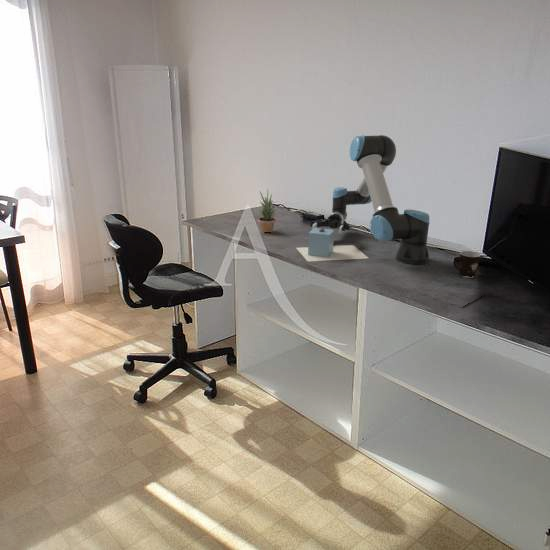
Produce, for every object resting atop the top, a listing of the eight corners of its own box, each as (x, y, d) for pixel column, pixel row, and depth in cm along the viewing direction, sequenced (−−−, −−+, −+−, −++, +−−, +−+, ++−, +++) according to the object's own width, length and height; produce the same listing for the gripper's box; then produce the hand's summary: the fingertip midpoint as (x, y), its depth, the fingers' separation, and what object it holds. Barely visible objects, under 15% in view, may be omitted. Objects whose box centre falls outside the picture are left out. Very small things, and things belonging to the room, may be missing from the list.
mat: (368, 259, 246) (368, 258, 245) (307, 262, 240) (307, 261, 239) (352, 245, 266) (352, 245, 266) (295, 248, 260) (295, 247, 260)
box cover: (332, 251, 255) (334, 227, 251) (328, 257, 246) (329, 232, 242) (313, 249, 258) (314, 225, 253) (307, 255, 249) (308, 230, 244)
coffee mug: (474, 273, 229) (478, 251, 225) (479, 279, 221) (483, 257, 217) (447, 271, 230) (450, 250, 226) (451, 278, 222) (454, 256, 218)
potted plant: (255, 232, 288) (255, 187, 279) (263, 228, 296) (263, 185, 287) (271, 234, 283) (271, 189, 275) (279, 231, 291) (279, 187, 283)
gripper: (358, 229, 275) (350, 239, 256) (312, 225, 282) (301, 234, 263) (358, 215, 272) (351, 224, 253) (312, 211, 280) (302, 219, 261)
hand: (326, 229), depth 258 cm, fingers open, 13 cm apart
